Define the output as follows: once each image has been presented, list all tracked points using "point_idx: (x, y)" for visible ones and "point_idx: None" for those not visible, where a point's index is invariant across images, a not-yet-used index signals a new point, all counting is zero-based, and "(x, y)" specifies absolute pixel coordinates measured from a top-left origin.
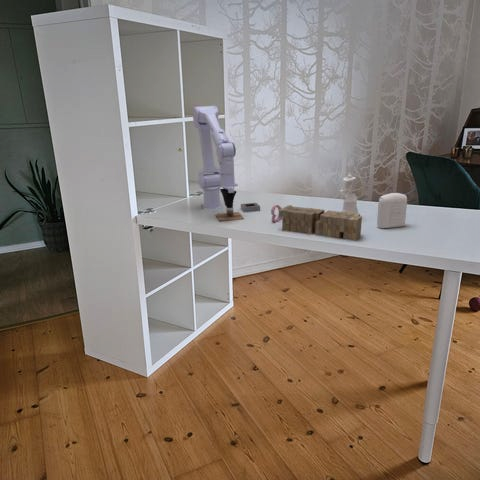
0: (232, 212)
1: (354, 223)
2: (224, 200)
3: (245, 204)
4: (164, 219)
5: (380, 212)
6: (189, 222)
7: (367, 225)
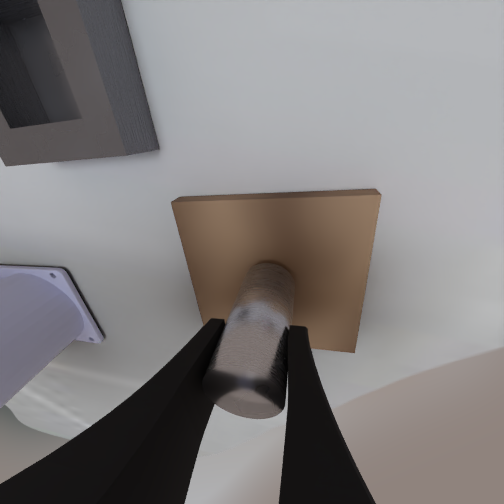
0: (287, 286)
1: None
2: (210, 410)
3: (4, 119)
4: (216, 447)
5: None
6: (282, 418)
7: None
